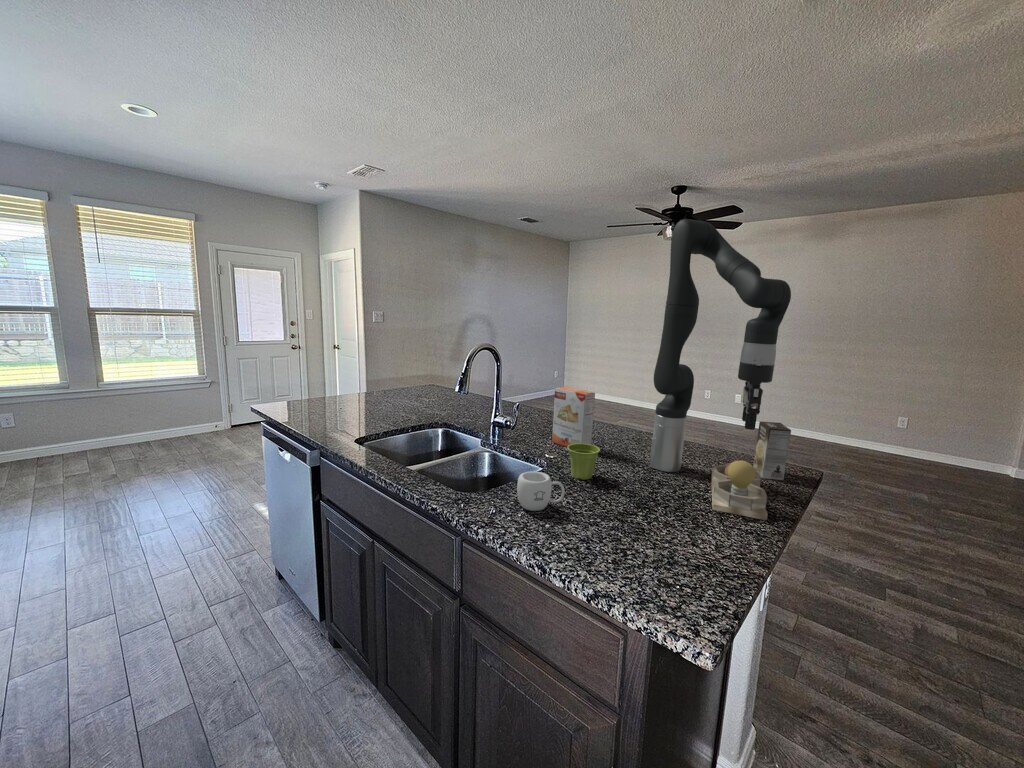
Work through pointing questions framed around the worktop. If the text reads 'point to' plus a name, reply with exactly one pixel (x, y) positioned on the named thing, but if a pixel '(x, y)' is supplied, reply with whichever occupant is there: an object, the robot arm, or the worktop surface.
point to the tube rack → (737, 496)
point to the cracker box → (573, 416)
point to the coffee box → (771, 450)
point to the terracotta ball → (727, 469)
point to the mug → (536, 490)
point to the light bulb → (741, 477)
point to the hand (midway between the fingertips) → (747, 425)
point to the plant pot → (582, 460)
